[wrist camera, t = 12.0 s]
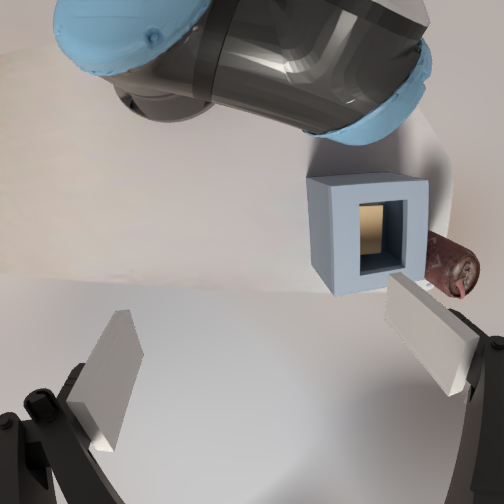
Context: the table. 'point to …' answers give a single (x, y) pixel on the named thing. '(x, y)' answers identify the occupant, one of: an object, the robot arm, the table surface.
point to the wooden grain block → (370, 227)
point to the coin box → (348, 229)
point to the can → (450, 266)
